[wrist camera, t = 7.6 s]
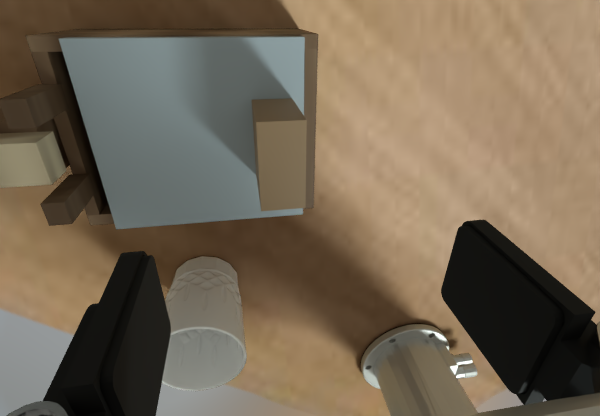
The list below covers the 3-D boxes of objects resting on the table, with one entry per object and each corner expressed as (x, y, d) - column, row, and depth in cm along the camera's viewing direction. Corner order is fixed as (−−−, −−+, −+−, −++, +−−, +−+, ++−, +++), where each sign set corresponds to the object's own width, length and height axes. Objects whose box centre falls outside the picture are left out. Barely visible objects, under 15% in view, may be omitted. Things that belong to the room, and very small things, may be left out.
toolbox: (299, 28, 27) (334, 38, 18) (298, 171, 33) (325, 236, 23) (5, 29, 24) (-142, 41, 15) (62, 186, 30) (-16, 267, 20)
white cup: (256, 287, 39) (263, 366, 30) (196, 318, 40) (185, 402, 31) (217, 238, 35) (212, 312, 26) (151, 272, 36) (125, 355, 27)
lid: (301, 36, 21) (324, 44, 16) (300, 207, 27) (316, 254, 22) (66, 37, 19) (4, 47, 14) (120, 221, 25) (90, 277, 20)
